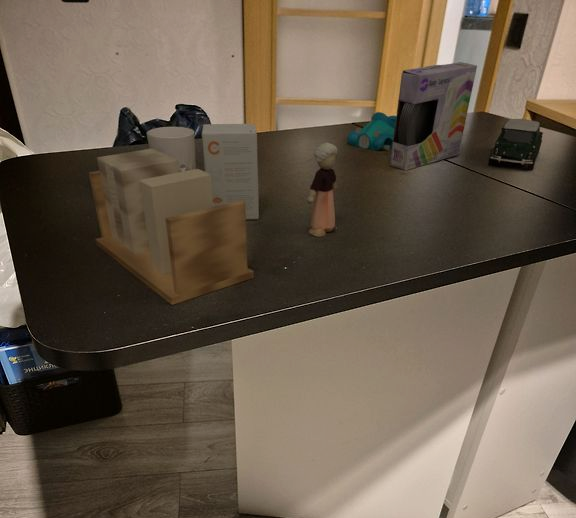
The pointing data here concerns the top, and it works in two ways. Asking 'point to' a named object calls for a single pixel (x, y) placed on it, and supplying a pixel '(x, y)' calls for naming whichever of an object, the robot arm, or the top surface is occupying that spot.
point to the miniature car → (518, 142)
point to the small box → (232, 164)
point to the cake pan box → (431, 113)
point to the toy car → (375, 133)
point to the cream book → (171, 207)
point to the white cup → (175, 145)
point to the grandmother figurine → (323, 191)
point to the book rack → (180, 230)
